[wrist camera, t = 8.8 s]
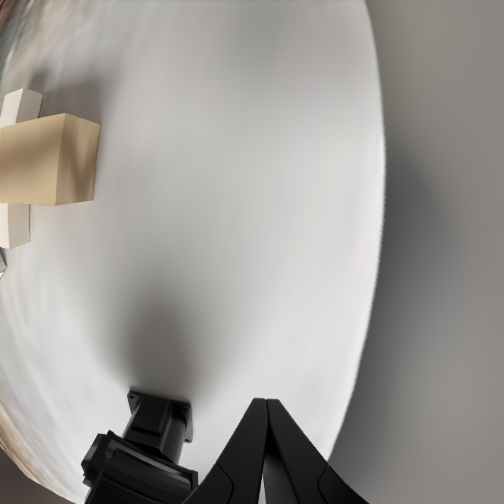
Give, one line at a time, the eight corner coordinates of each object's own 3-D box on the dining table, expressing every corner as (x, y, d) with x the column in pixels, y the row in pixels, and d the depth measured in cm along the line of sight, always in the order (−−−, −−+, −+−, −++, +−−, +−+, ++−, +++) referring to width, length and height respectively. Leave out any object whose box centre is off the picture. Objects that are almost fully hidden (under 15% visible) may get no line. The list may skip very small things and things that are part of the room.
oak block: (94, 200, 19) (55, 205, 14) (30, 197, 18) (-7, 202, 14) (102, 125, 17) (66, 112, 12) (37, 133, 17) (0, 127, 12)
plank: (30, 241, 19) (9, 248, 16) (13, 239, 19) (-7, 245, 16) (43, 94, 16) (23, 87, 13) (24, 100, 16) (5, 94, 13)
